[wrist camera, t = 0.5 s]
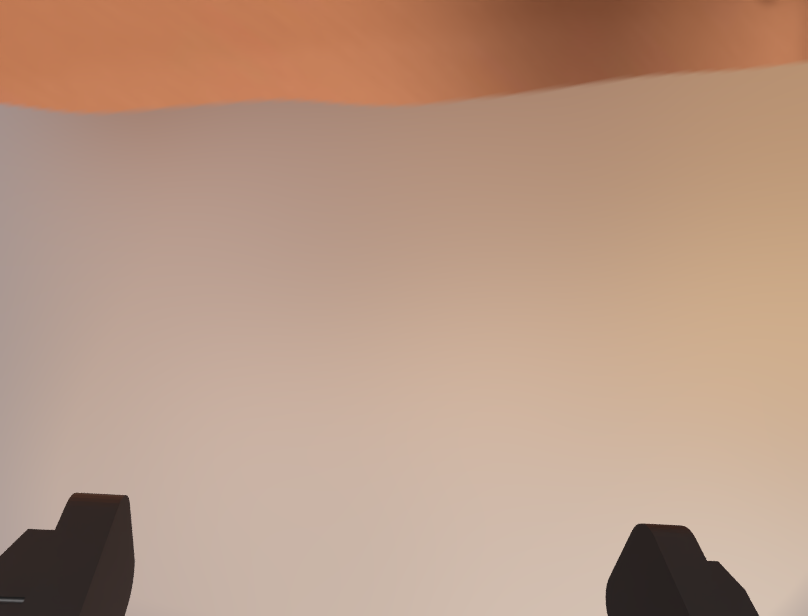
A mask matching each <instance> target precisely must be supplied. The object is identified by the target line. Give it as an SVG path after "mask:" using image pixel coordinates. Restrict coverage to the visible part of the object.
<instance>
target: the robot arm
mask: <svg viewBox="0 0 808 616" xmlns="http://www.w3.org/2000/svg"><path fill="white" fill-rule="evenodd" d="M134 563H135V560H134V548H133V536H132V524H131V514H130V502H129V498H128V496H126V495H110V494H90V493H74V494H73V495H72V496H71V497H70V498H69V500H68V502H67V504H66V506H65V508H64V510H63V513H62V515H61V517H60V520H59V522H58V524H57V526H56V529H55V530H37V529H28V530H27V531H26V532H25V533H24V534H22V535H21V536H20V538H18V539H17V540H16V541H15V542H14V543H13V544H12V545H11V546H10V547H9V548H8V549H7V550H6V551H5V552H4V553H3V554H2V555H1V556H0V616H125V612H126V609H127V606H128V602H129V598H130V594H131V589H132V584H133V577H134ZM606 608H607V614H608V616H759V615H758V613H757V611H756V609H755V607H754V606H753V604H752V602H751V600H750V598H749V596H748V595H747V593H746V591H745V589H744V588H743V587H742V586H741V585H740V584H739V583H738V582H737V581H736V580H735V579H734V578H733V577H732V576H731V575H730V574H729V572H728V571H727V570H726V569H725V568H724V567H723V566H722V565H721V564H720V563H719V562H718V561H707V560H706V558H705V556H704V554H703V552H702V550H701V548H700V546H699V544H698V542H697V540H696V538H695V537H694V535H693V533H692V532H691V531H690V530H689V529H688V528H687V527H685V526H679V525H678V526H677V525H660V524H659V525H658V524H638V525H636V526H635V527H634V529H633V530H632V532H631V534H630V536H629V538H628V540H627V542H626V544H625V547H624V548H623V551H622V553H621V555H620V557H619V559H618V561H617V563H616V565H615V567H614V569H613V571H612V573H611V575H610V577H609V580H608V583H607V588H606Z"/></svg>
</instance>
